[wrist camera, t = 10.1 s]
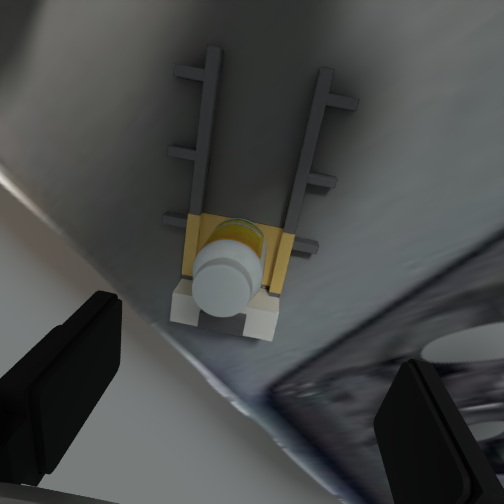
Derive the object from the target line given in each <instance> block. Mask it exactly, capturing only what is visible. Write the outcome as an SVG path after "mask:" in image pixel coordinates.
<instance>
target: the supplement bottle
mask: <svg viewBox="0 0 504 504" xmlns="http://www.w3.org/2000/svg"><path fill="white" fill-rule="evenodd" d="M266 253H267V242H266V238H265V236H264V234H263V232H262V230H261V229H260V228H259V227H258V226H257V225H255V224H254V223H252V222H251V221H249V220H246V219H242V218H232V219H228V220H225V221H223V222H222V223H220V224H219V225H218V226H217V227H216V228H215V229H214V231H213V232H212V233H211V235H210V236H209V238H208V239H207V241H206V242H205V244H204V245H203V247H202V248H201V250H200V251H199V253H198V254H197V256H196V258H195V260H194V264H193V270H192V275H193V282H192V295H193V298H194V300H195V302H196V304H197V305H198V306H199V307H200V308H201V309H202V310H203V311H204V312H206V313H208V314H210V315H212V316H215V317H231V316H234V315H236V314H238V313H240V312H241V311H242V310H243V309H244V308H245V307H246V306H247V304H248V302H249V301H250V300H251V299H252V298H253V297H254V296H255V295H256V294H257V293H258V291H259V289H260V287H261V285H262V281H263V276H264V268H265V260H266Z"/></svg>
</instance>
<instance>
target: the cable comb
mask: <svg viewBox="0 0 504 504" xmlns="http://www.w3.org/2000/svg"><path fill="white" fill-rule="evenodd" d="M222 58H223V50H222V48H221V47H216V46H211V45H207V53H206V62H205V69H201V68H196V67H190V66H185V65H180V64H175V63H174V72H173V75H174V76H176V77H179V78H184V79H189V80H195V81H200V82H203V89H202V98H201V108H200V117H199V126H198V135H197V144H196V149H192V148H187V147H182V146H177V145H168V149H167V156H172V157H177V158H183V159H188V160H193V161H195V162H194V171H193V181H192V190H191V199H190V208H189V213H188V216H186V215H181V214H176V213H171V212H166V213H164V214H163V215H162V224H167V225H172V226H177V227H182V228H186V237H185V246H184V256H183V265H182V279H181V280H180V282H179V284H178V285H177V287H176V288H175V290H174V291H173V295H172V305H171V315H170V321H173V322H178V323H183V324H188V325H193V326H197V328H199V329H204V330H209V331H214V332H219V333H224V334H229V335H234V336H239V337H242V336H248V337H252V338H257V339H262V340H267V341H272V340H273V336H274V332H275V327H276V323H277V319H278V315H279V296H280V294H281V291H282V287H283V282H284V278H285V274H286V270H287V266H288V262H289V258H290V254H291V250H292V249H293V250H298V251H303V252H308V253H313V254H317V251H318V248H319V245H318V242H317V241H312V240H307V239H302V238H297V237H295V230H296V226H297V222H298V218H299V214H300V210H301V205H302V201H303V197H304V193H305V189H306V185H307V183H310V184H315V185H320V186H325V187H330V188H335V186H336V183H337V178H336V177H335V176H330V175H325V174H320V173H314V172H310V168H311V164H312V160H313V156H314V152H315V148H316V144H317V139H318V135H319V131H320V127H321V123H322V119H323V115H324V111H325V106H329V107H334V108H339V109H345V110H350V111H356V110H357V107H358V103H359V99H356V98H351V97H346V96H341V95H336V94H330V93H329V90H330V86H331V82H332V78H333V73H334V69H330V68H325V67H321V68H320V69H319V73H318V77H317V82H316V86H315V90H314V95H313V99H312V104H311V108H310V112H309V117H308V121H307V126H306V130H305V134H304V139H303V143H302V148H301V152H300V157H299V161H298V165H297V170H296V174H295V179H294V183H293V187H292V192H291V196H290V201H289V205H288V209H287V214H286V218H285V223H284V227H283V228H279V227H274V226H269V225H264V224H259V223H254V222H252V223H254V224H255V225H257V226H258V227H259V228H260V229H261V230H262V232H263V234H264V236H265V238H266V242H267V253H266V260H265V268H264V276H263V281H262V285H266V286H270V289H269V290H267V289H262V288H260V289H259V291H258V293H257V294H256V295H255V296H254V297H253V298H252V299H251V300H250V301H249V302H248V304H247V306H246V307H245V308H244V309H243V310H242V311H241V312H240V313H238V314H236V315H234V316H231V317H215V316H212V315H210V314H208V313H206V312H204V311H203V310H202V309H201V308H200V307H199V306H198V305H197V304H196V302H195V300H194V298H193V295H192V282H193V275H192V270H193V264H194V260H195V258H196V256H197V254H198V253H199V251H200V250H201V248H202V247H203V245H204V244H205V242H206V241H207V239H208V238H209V236H210V235H211V233H212V232H213V231H214V229H215V228H216V227H217V226H218V225H219V224H220V223H222V222H223V221H225V220H228V219H232V218H228V217H223V216H218V215H213V214H208V213H203V208H204V200H205V192H206V185H207V177H208V169H209V161H210V153H211V145H212V137H213V129H214V121H215V113H216V105H217V97H218V90H219V82H220V74H221V66H222Z"/></svg>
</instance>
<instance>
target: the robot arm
mask: <svg viewBox="0 0 504 504" xmlns="http://www.w3.org/2000/svg"><path fill="white" fill-rule="evenodd" d="M121 323H122V300H120V299H118V296H117V294H114V293H110V292H105V291H97V292H95V293H94V294H93V295H92V296H91V297H90V298H89V299H88V300H87V301H86V302H85V303H84V304H83V305H82V306H81V307H80V308H79V309H78V310H77V311H76V312H75V313H74V314H73V315H72V316H70V317H69V318H68V320H66V321H65V322H64V323H63V324H62V325H58V326H56V327H55V328H53V329H52V330H51V331H50V332H49V333H48V334H47V335H46V336H45V337H44V338H43V339H42V340H41V341H40V342H39V343H37V344H36V345H35V346H34V347H33V348H32V349H31V350H30V351H29V352H28V353H27V354H26V355H25V356H24V357H23V358H22V359H20V360H19V361H18V362H17V363H16V364H15V365H14V366H13V367H12V368H11V369H10V370H9V371H8V372H7V373H6V374H5V375H4V376H2V377H1V378H0V504H118V503H114V502H109V501H104V500H100V499H95V498H90V497H84V496H80V495H74V494H69V493H64V492H59V491H54V490H49V489H44V488H39V487H37V486H38V484H39V483H40V481H41V480H42V478H43V476H44V475H45V474H51V473H52V472H53V471H54V469H55V468H56V467H57V465H58V464H59V462H60V460H61V459H62V457H63V456H64V454H65V453H66V451H67V449H68V448H69V446H70V445H71V443H72V442H73V440H74V438H75V437H76V435H77V434H78V432H79V431H80V429H81V428H82V426H83V424H84V423H85V421H86V420H87V418H88V417H89V415H90V414H91V412H92V410H93V409H94V407H95V406H96V404H97V402H98V401H99V399H100V398H101V396H102V395H103V393H104V392H105V390H106V389H107V387H108V385H109V384H110V382H111V381H112V379H113V378H114V376H115V374H116V373H117V371H118V368H119V365H120V353H121V352H120V351H121V325H122V324H121ZM374 431H375V435H376V439H377V442H378V446H379V449H380V453H381V457H382V460H383V464H384V467H385V471H386V474H387V478H388V482H389V485H390V489H391V492H392V496H393V500H394V503H395V504H504V488H503V487H502V485H501V483H500V481H499V480H498V478H497V476H496V475H495V473H494V471H493V469H492V468H491V466H490V464H489V462H488V461H487V459H486V457H485V455H484V454H483V452H482V450H481V449H480V447H479V445H478V443H477V442H476V440H475V438H474V437H473V435H472V433H471V431H470V430H469V428H468V426H467V424H466V423H465V421H464V419H463V417H462V416H461V414H460V412H459V410H458V409H457V407H456V405H455V403H454V402H453V400H452V398H451V397H450V395H449V393H448V391H447V390H446V388H445V386H444V384H443V383H442V381H441V379H440V377H439V376H438V374H437V372H436V371H435V369H434V367H433V366H432V364H431V363H429V362H424V361H420V360H415V359H410V360H408V362H404V363H403V364H402V365H401V367H400V369H399V371H398V373H397V375H396V377H395V379H394V381H393V383H392V385H391V387H390V389H389V391H388V393H387V395H386V397H385V399H384V400H383V402H382V404H381V406H380V408H379V410H378V412H377V414H376V416H375V419H374ZM21 484H27V485H31V486H25V485H21ZM32 486H35V487H32Z"/></svg>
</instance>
